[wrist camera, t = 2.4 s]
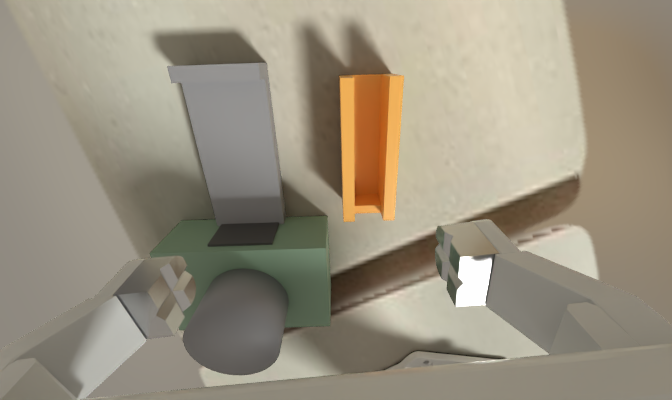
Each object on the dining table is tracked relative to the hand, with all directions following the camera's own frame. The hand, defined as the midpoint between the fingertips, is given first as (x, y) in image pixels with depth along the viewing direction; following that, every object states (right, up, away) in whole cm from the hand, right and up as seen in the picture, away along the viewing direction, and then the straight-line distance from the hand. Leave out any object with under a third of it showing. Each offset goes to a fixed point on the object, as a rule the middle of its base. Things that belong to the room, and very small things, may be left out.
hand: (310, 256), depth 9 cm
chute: (+4, +7, +18) cm, 20 cm away
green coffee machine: (-8, +2, +21) cm, 22 cm away
